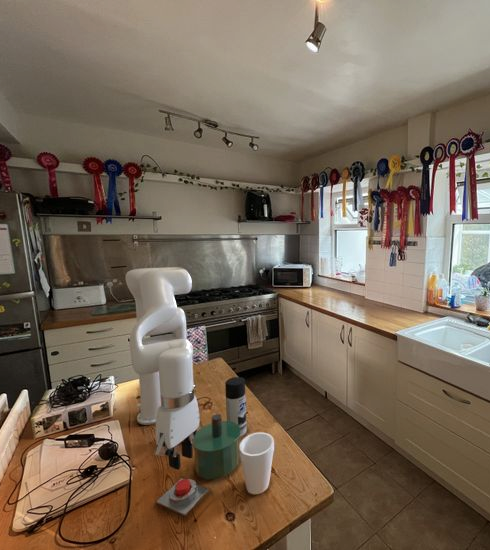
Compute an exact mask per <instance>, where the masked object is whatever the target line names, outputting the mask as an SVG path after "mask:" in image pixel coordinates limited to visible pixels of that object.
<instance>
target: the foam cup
mask: <svg viewBox="0 0 490 550" xmlns="http://www.w3.org/2000/svg"><path fill="white" fill-rule="evenodd" d="M274 451H275V440H274V437H273V436H272V435H271V433H267V432H264V431H262V432H261V431H260V432H252V433H250V434H248V435H247V436H245V437H243V439H242V440H241V441H240V442H239V459H240V461H241V467H242V472H243V477H244V483H245V489H246V491H247V493H249V494H251V495H259V494H262V493H264V492H265V491H266V490H267V489H268V488H269V485H270V481H271V473H272V467H273V464H272V463H273V457H274Z"/></svg>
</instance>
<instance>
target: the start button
mask: <svg viewBox="0 0 490 550" xmlns="http://www.w3.org/2000/svg"><path fill="white" fill-rule="evenodd" d="M182 479H183V480H181V481H179V480H178V481H179V482H178V481H177V482H178V483H177V482H176V483H177V484H176V483H175V484H176V485H175V484H174V485H175V494H176V495H177V496H183V495H185V494H187V493H188V492H189V490H190V481H189V480H188V479H189V478H182Z"/></svg>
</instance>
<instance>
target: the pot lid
mask: <svg viewBox="0 0 490 550" xmlns="http://www.w3.org/2000/svg"><path fill="white" fill-rule="evenodd" d="M210 418H211V423H208V424H206V425H203V427H200V429H198V430H197V432H196V434H195V436H194V442H193V443H192V448H195V449H196V450H198V451H200V452H206V453H210V452H217V451H221V450H223V449H226V448H228V447H229V446H231V445H232V444H234V443H235V442H236V441H237V440H238V438H239V439H240V437H241V436H240V433H241V430H240V427H239V425H238V424H236V423H234V422H231V421H227V420H222V414H221V413H214V414H213V415H212V416H211V417H210ZM239 436H240V437H239Z"/></svg>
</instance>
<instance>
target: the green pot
mask: <svg viewBox="0 0 490 550" xmlns="http://www.w3.org/2000/svg"><path fill="white" fill-rule="evenodd" d="M193 448H194V447H193ZM193 452H194V471H195V474H196V475H197V476H198V477H199V478H201V479H204V480H217V479H219V478H223V477H225V476H227V475H228V474H230V473H232V472H233V471H234V470H235V469H236V467H237V466H238V464H239V462H240V437H239V438H238V440H237V441H236V442H235V443H234V444H232V445H231V446H229V447H228V448H226V449H223V450H221V451H217V452H210V453H206V452H200V451H198V450H196V449H195V448H194V450H193Z"/></svg>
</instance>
